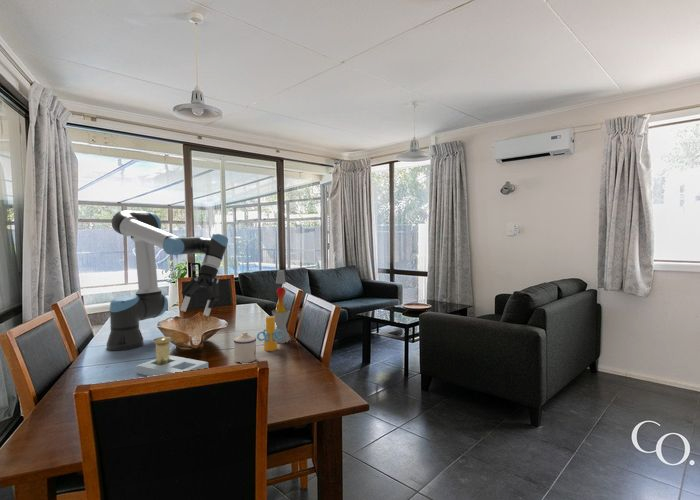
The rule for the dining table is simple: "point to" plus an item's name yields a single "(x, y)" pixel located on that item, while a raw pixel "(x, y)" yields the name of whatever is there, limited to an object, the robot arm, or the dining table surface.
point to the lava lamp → (281, 310)
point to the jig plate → (170, 366)
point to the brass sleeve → (162, 350)
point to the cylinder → (270, 334)
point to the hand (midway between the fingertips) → (193, 313)
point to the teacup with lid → (245, 348)
